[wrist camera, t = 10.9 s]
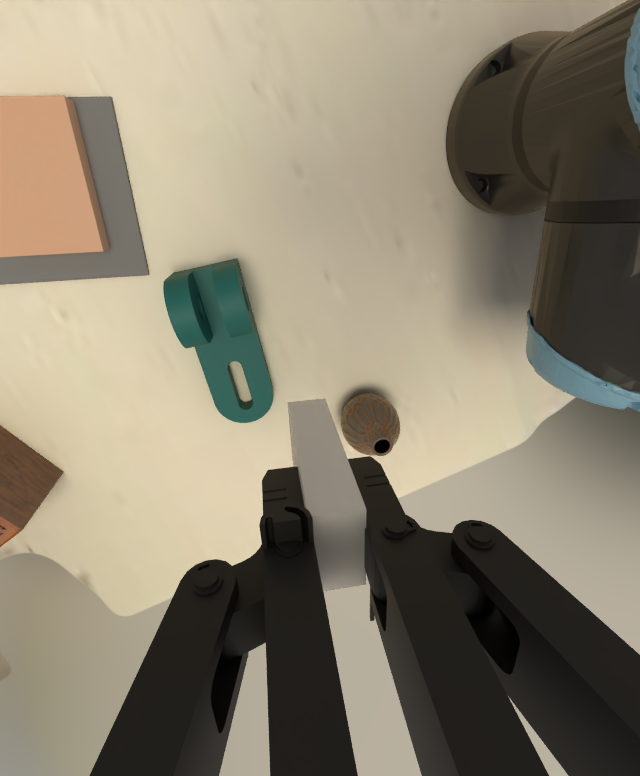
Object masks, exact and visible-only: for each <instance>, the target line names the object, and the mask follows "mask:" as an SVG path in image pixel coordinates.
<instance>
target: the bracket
mask: <svg viewBox="0 0 640 776" xmlns="http://www.w3.org/2000/svg"><path fill="white" fill-rule="evenodd" d="M164 298H165V303H166V307H167V311H168V315H169V318H170V321H171V324H172V326H173V329H174V331H175V333H176V335H177V337H178V339H179V341H180V342H181V344H182V345H183V346H184V347H185V348H190V347H195V349H196V352H197V355H198V358H199V361H200V363H201V366H202V369H203V372H204V375H205V378H206V380H207V383H208V386H209V389H210V392H211V395H212V397H213V400H214V403H215V406H216V408H217V409H218V411H219V412H220V413H221V414H222V415H223V416H224V417H226V418H227V419H229V420H231V421H234V422H240V423H248V422H253V421H256V420H258V419H260V418H261V417H263V416H264V415H265V414H266V413H267V412H268V411H269V409H270V407H271V405H272V402H273V388H272V383H271V379H270V375H269V372H268V368H267V364H266V361H265V357H264V353H263V350H262V346H261V343H260V339H259V335H258V332H257V328H256V324H255V321H254V317H253V313H252V310H251V306H250V303H249V299H248V295H247V292H246V288H245V284H244V281H243V277H242V273H241V270H240V266H239V263H238V259H233V260H229V261H224V262H220V263H215V264H211V265H207V266H202V267H198V268H193V269H189V270H184V271H180V272H175V273H173V274H172V275H170V276H169V277H168V278H167V279H166V280H165V281H164ZM232 361H237V362H239V363H241V365H242V367H243V370H244V374H245V377H246V380H247V383H248V387H249V390H250V393H251V397H252V400H251V401H249V402H243V401H241V400H240V398H239V395H238V392H237V389H236V386H235V383H234V379H233V376H232V373H231V370H230V367H229V363H230V362H232Z"/></svg>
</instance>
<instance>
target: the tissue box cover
mask: <svg viewBox="0 0 640 776" xmlns="http://www.w3.org/2000/svg"><path fill="white" fill-rule="evenodd" d="M62 474H63V471H62V470H61V469H59V468H58V467H56V466H55V465H54V464H52V463H51V462H50V461H48V460H47V459H45V458H44V457H43V456H41V455H40V454H39V453H37V452H36V451H35V450H33V449H32V448H30V447H29V446H28V445H26V444H25V443H24V442H22V441H21V440H20V439H18V438H17V437H15V436H14V435H13V434H11V433H10V432H9V431H7V430H6V429H5V428H3V427H2V426H0V547H1V546H2V545H3V544H5V543H6V542H7V541H9V540H10V539H11V538H13V537H14V536H15V535H17V534H18V533H19V532H20V531H22V530H23V529H24V527H25V526H26V524H27V523H28V521H29V520H30V519H31V517H32V516H33V514H34V513H35V512H36V510H37V509H38V507H39V506H40V505H41V503H42V502H43V500H44V499H45V497H46V496H47V495H48V493H49V492H50V490H51V489H52V488H53V486H54V485H55V483H56V482H57V481H58V479H59V478H60V476H61V475H62Z"/></svg>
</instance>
